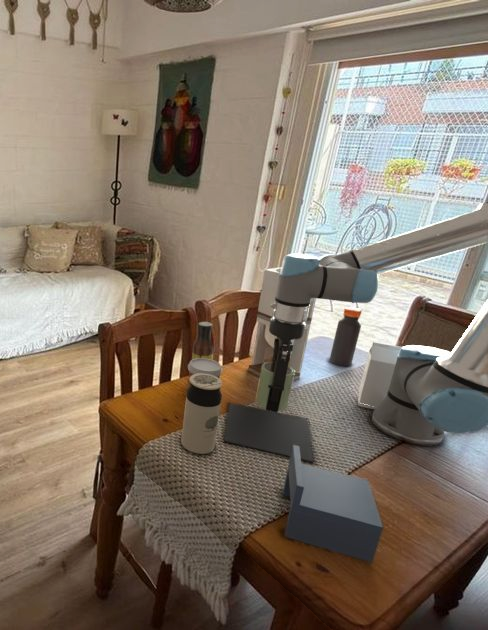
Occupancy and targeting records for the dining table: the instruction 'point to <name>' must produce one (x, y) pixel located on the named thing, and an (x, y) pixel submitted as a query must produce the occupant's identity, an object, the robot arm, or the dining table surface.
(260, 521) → the dining table surface
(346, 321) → the vinegar
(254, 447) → the mat
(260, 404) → the cup
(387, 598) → the dining table surface
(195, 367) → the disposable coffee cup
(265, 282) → the white dispenser tower
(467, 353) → the robot arm
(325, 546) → the blue l-shaped block
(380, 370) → the milk carton
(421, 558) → the dining table surface
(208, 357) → the sauce bottle
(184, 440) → the travel mug
